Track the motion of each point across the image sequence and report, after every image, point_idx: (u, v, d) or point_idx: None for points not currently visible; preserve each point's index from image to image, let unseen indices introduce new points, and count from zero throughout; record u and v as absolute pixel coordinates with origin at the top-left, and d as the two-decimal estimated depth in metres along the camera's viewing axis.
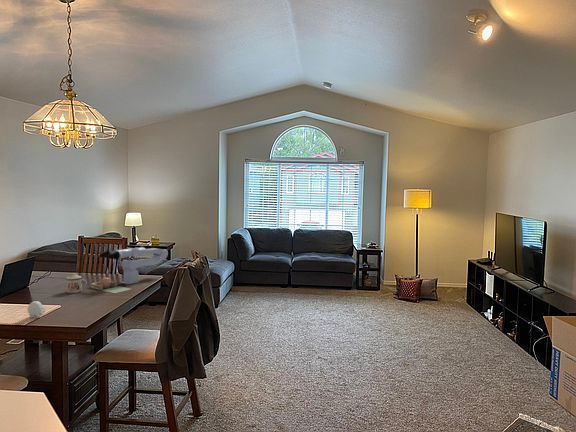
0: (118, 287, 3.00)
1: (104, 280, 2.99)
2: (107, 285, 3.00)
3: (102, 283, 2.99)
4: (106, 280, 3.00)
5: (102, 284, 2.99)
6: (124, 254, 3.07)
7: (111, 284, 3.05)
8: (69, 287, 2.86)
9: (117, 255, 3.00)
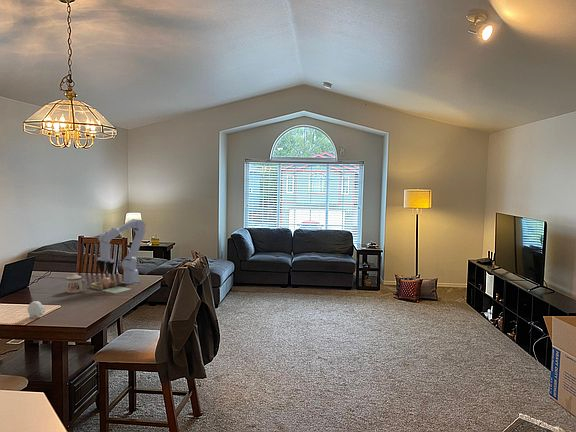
0: (118, 287, 3.00)
1: (104, 280, 2.99)
2: (107, 285, 3.00)
3: (102, 283, 2.99)
4: (106, 280, 3.00)
5: (102, 284, 2.99)
6: (108, 251, 2.99)
7: (111, 284, 3.05)
8: (69, 287, 2.86)
9: (110, 263, 2.98)
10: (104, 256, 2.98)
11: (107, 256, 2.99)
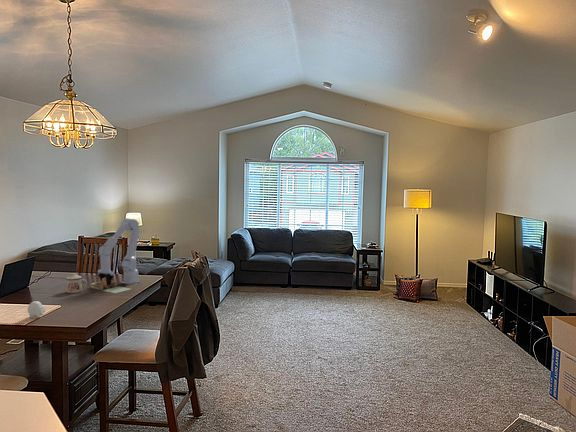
0: (118, 287, 3.00)
1: (104, 280, 2.99)
2: None
3: (102, 283, 2.99)
4: None
5: (102, 284, 2.99)
6: (108, 264, 2.99)
7: (111, 284, 3.05)
8: (69, 287, 2.86)
9: (109, 276, 2.99)
10: (104, 269, 2.98)
11: (107, 269, 2.99)
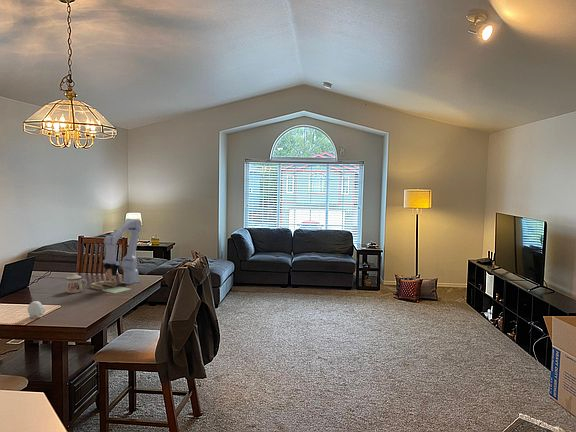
0: (118, 287, 3.00)
1: (109, 271, 2.94)
2: (112, 276, 2.95)
3: (107, 274, 2.94)
4: None
5: (107, 275, 2.94)
6: (113, 254, 2.95)
7: (111, 284, 3.05)
8: (69, 287, 2.86)
9: (114, 266, 2.94)
10: (110, 259, 2.94)
11: (113, 259, 2.95)
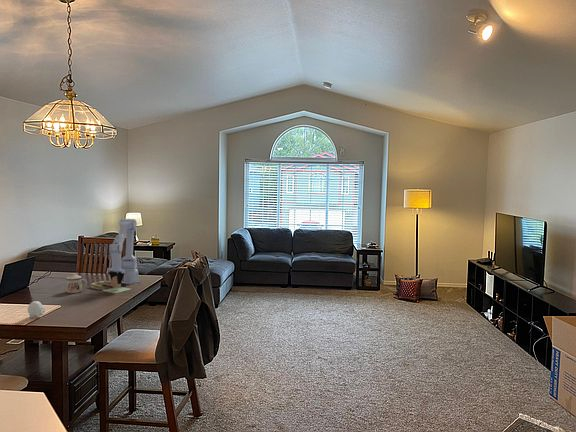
0: (118, 287, 3.00)
1: (115, 279, 2.91)
2: (118, 284, 2.92)
3: (113, 282, 2.91)
4: None
5: (113, 283, 2.91)
6: (119, 262, 2.92)
7: None
8: (69, 287, 2.86)
9: (120, 274, 2.91)
10: (115, 267, 2.90)
11: (118, 267, 2.91)
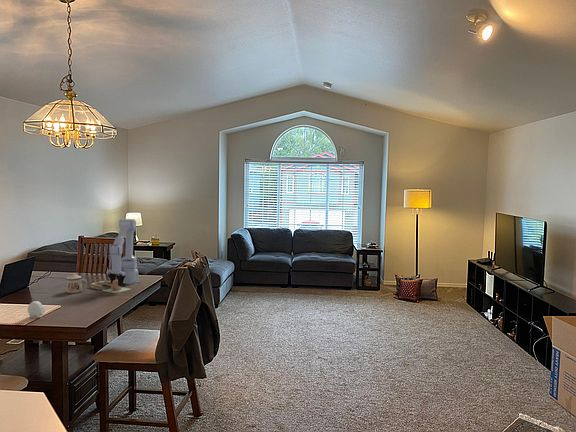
0: None
1: (115, 282, 2.92)
2: (118, 287, 2.92)
3: (113, 285, 2.91)
4: (117, 283, 2.92)
5: (113, 286, 2.91)
6: (119, 264, 2.92)
7: None
8: (69, 287, 2.86)
9: None
10: (115, 269, 2.91)
11: (118, 269, 2.92)
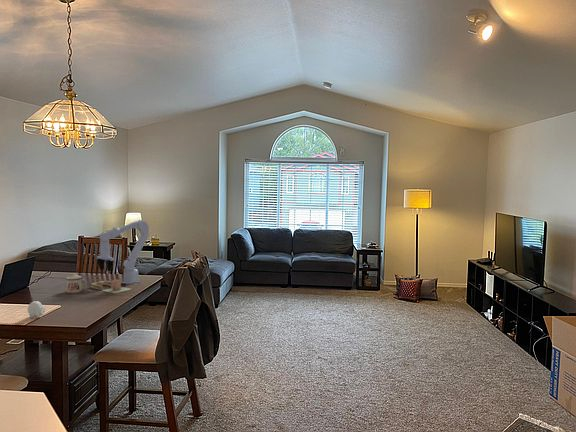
0: None
1: (115, 282, 2.91)
2: (118, 287, 2.92)
3: (113, 285, 2.91)
4: (117, 283, 2.92)
5: (113, 286, 2.91)
6: (107, 250, 3.05)
7: None
8: (69, 287, 2.86)
9: (110, 261, 3.04)
10: (104, 254, 3.04)
11: (107, 254, 3.05)
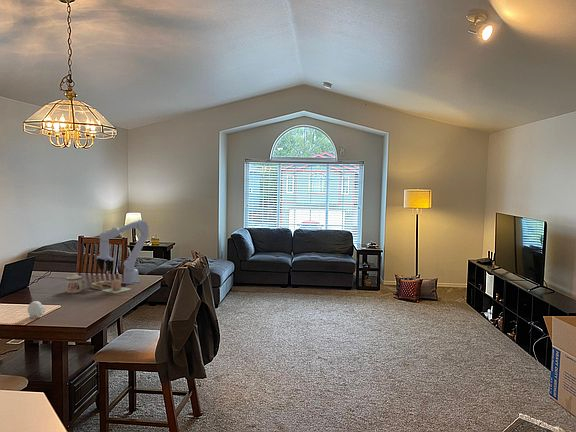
0: None
1: (115, 282, 2.91)
2: (118, 287, 2.92)
3: (113, 285, 2.91)
4: (118, 283, 2.92)
5: (113, 286, 2.91)
6: (107, 250, 3.05)
7: None
8: (69, 287, 2.86)
9: (109, 261, 3.04)
10: (104, 254, 3.04)
11: (106, 254, 3.05)
